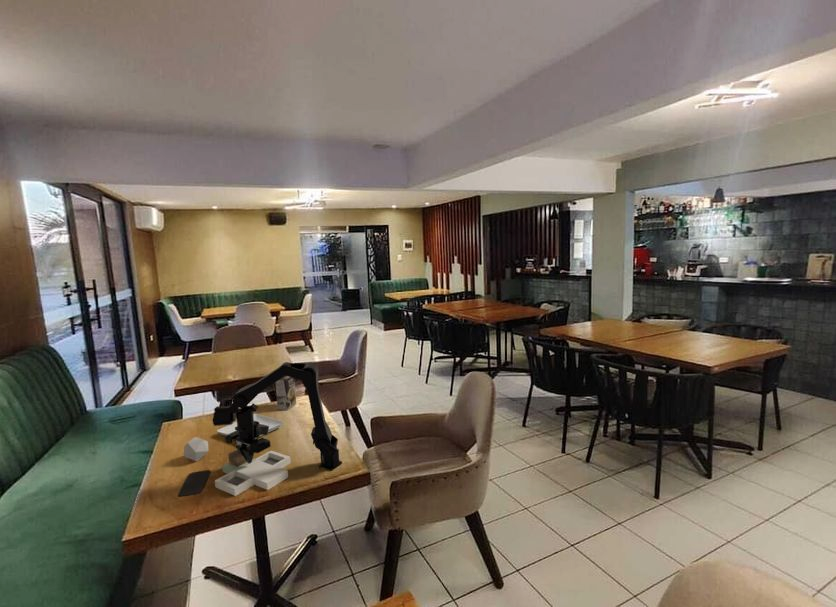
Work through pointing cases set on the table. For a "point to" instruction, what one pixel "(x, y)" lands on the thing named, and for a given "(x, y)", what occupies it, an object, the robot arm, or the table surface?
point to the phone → (194, 483)
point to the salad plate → (261, 419)
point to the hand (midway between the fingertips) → (249, 462)
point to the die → (195, 449)
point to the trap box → (254, 473)
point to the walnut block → (236, 458)
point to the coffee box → (285, 393)
